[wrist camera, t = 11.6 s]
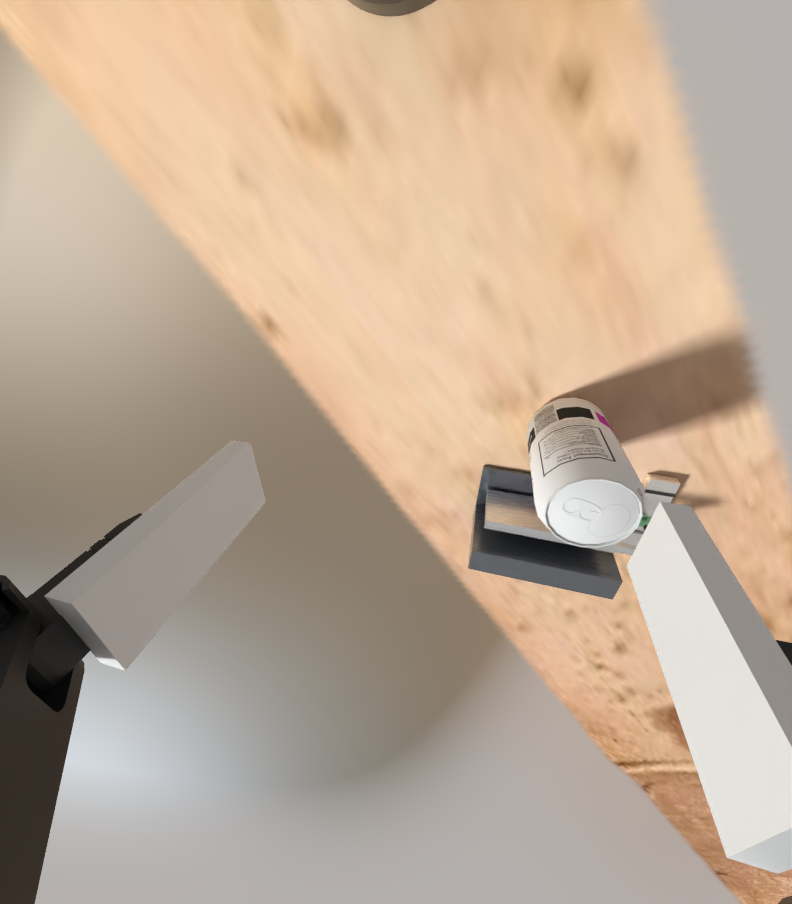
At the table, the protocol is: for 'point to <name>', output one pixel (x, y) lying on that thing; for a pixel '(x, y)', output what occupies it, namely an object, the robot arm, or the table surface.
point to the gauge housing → (548, 557)
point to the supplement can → (582, 475)
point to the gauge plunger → (528, 520)
